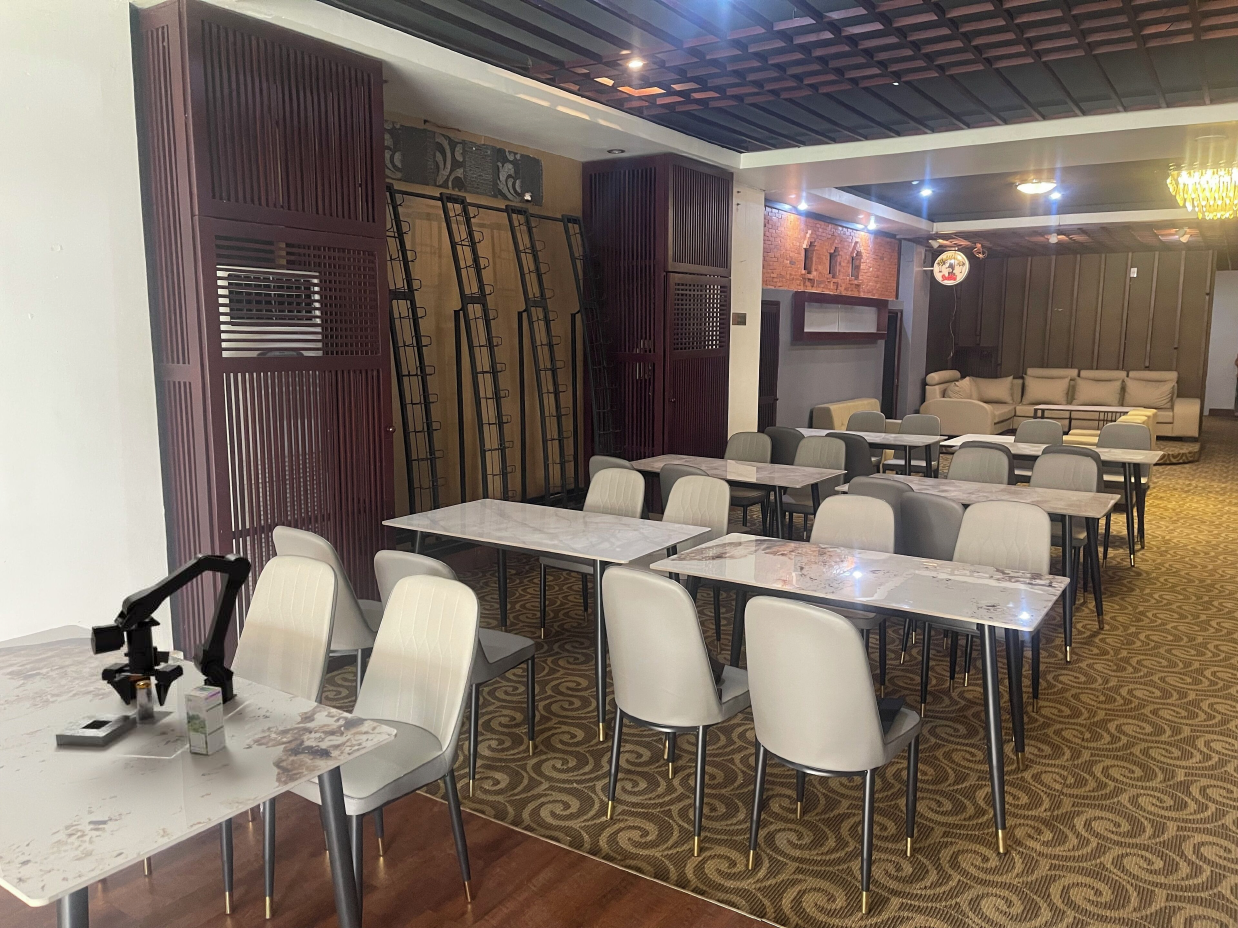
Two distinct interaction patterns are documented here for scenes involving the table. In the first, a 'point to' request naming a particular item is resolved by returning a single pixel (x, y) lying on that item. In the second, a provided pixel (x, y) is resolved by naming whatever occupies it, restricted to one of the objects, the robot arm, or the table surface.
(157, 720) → the mat
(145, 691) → the silver copper cylinder
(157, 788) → the table surface
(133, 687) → the battery
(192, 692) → the syrup box
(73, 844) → the table surface
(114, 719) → the block
